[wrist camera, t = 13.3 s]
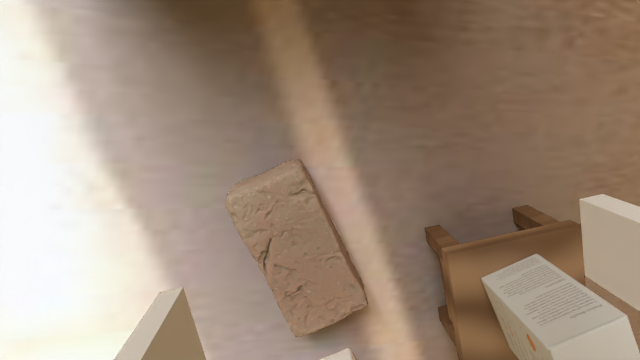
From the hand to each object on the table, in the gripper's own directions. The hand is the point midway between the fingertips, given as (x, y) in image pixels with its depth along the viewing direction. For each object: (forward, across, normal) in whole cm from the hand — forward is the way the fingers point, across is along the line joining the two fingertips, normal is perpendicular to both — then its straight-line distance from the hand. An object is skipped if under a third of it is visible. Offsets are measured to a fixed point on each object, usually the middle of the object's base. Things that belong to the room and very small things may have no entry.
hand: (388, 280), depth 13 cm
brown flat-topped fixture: (+29, +14, -16) cm, 36 cm away
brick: (+29, -5, -9) cm, 31 cm away
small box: (+21, +14, -16) cm, 30 cm away
